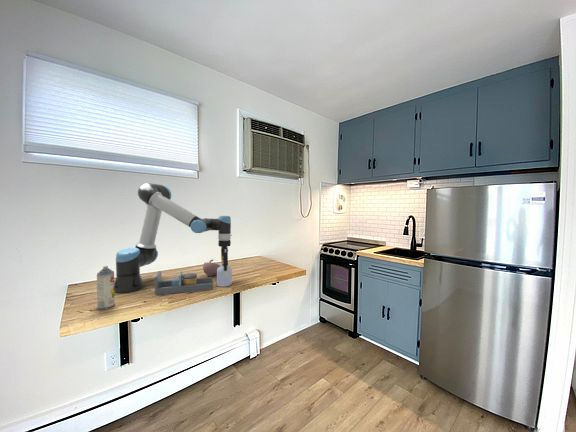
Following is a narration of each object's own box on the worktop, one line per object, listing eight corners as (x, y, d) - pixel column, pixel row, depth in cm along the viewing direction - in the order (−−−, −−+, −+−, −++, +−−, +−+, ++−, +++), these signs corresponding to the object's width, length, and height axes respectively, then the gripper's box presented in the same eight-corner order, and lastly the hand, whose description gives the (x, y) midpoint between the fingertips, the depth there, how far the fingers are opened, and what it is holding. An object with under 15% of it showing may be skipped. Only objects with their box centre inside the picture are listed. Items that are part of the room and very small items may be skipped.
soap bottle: (216, 287, 144) (217, 248, 143) (217, 282, 153) (217, 245, 152) (231, 286, 147) (232, 247, 145) (231, 281, 155) (231, 245, 154)
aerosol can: (113, 307, 114) (113, 267, 113) (95, 310, 111) (95, 268, 110) (115, 302, 120) (115, 264, 119) (98, 304, 116) (98, 265, 116)
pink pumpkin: (222, 273, 174) (222, 258, 173) (216, 278, 162) (216, 262, 161) (207, 272, 175) (207, 257, 174) (199, 277, 163) (199, 261, 163)
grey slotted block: (154, 295, 130) (154, 277, 130) (159, 287, 143) (159, 271, 142) (213, 289, 141) (213, 272, 141) (212, 282, 153) (212, 267, 153)
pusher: (171, 292, 134) (171, 276, 134) (173, 286, 144) (173, 271, 144) (180, 291, 136) (180, 276, 136) (182, 285, 146) (182, 271, 146)
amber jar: (181, 291, 137) (181, 277, 137) (183, 286, 145) (183, 273, 145) (196, 289, 140) (196, 276, 140) (197, 285, 148) (197, 272, 148)
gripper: (232, 242, 138) (232, 277, 139) (228, 237, 161) (228, 267, 162) (219, 243, 135) (219, 279, 136) (217, 237, 159) (217, 268, 160)
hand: (224, 272), depth 149 cm, fingers open, 13 cm apart
